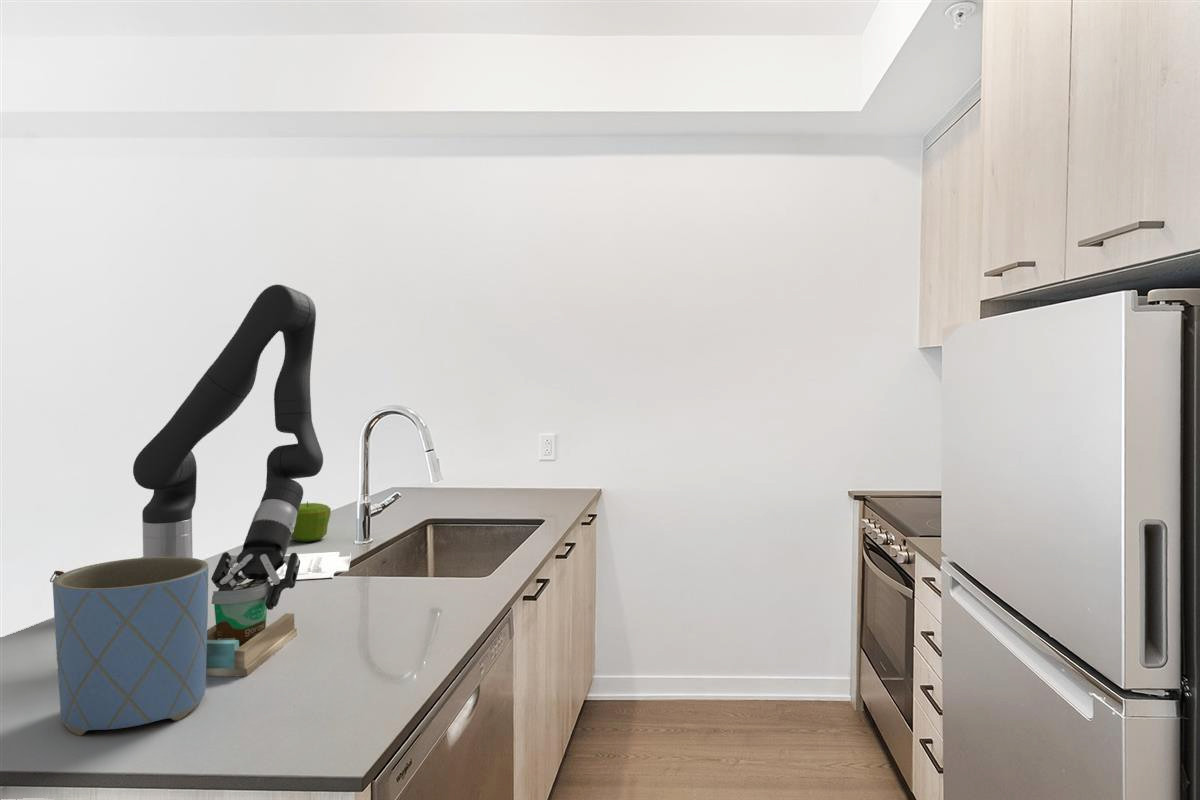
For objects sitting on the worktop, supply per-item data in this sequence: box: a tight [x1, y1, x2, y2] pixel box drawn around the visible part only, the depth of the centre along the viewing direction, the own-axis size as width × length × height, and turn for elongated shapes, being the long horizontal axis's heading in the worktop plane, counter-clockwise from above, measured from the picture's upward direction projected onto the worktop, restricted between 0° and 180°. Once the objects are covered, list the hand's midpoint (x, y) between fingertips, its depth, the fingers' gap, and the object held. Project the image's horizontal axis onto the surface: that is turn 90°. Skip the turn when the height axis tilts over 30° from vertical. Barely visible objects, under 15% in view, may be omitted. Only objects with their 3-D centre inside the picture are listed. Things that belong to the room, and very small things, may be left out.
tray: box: [270, 551, 352, 582], centre depth 199 cm, size 20×28×4 cm
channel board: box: [206, 612, 298, 677], centre depth 137 cm, size 12×20×5 cm, turn 179°
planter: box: [52, 557, 209, 736], centre depth 114 cm, size 19×19×20 cm
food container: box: [210, 577, 272, 646], centre depth 140 cm, size 12×6×10 cm, turn 170°
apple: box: [291, 501, 332, 543], centre depth 231 cm, size 12×12×11 cm
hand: (244, 607), depth 139 cm, fingers open, 8 cm apart
